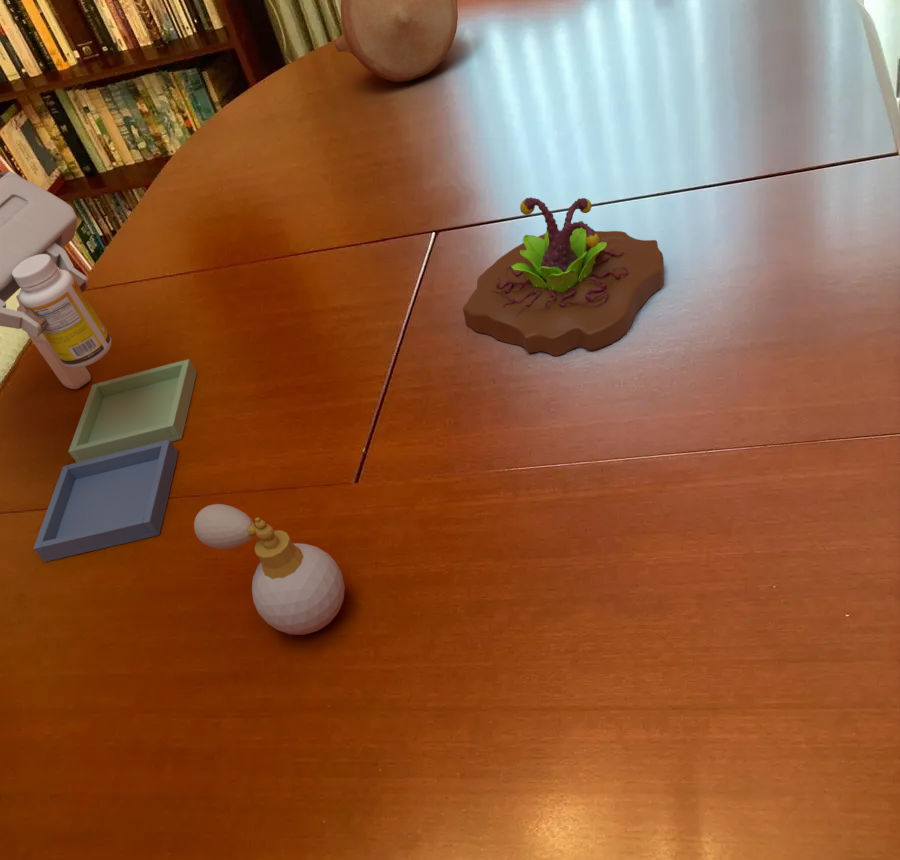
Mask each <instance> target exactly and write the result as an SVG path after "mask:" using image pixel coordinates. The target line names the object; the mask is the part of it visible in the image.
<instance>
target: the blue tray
mask: <svg viewBox="0 0 900 860" xmlns="http://www.w3.org/2000/svg"><path fill="white" fill-rule="evenodd" d="M178 456H179V452H178V451H177V449H176V448H175V446H174V445H173V443H172V442H171V441H170V440H166V441H162V442H158V443H154V444H150V445H146V446H142V447H138V448H134V449H130V450H126V451H122V452H118V453H114V454H110V455H106V456H102V457H98V458H94V459H90V460H86V461H82V462H78V463H76V462H74V463H70V464H66V465H63V466H62V468H61V471H60V474H59V477H58V479H57V482H56V485H55V488H54V491H53V493H52V495H51V498H50V502H49V504H48V507H47V509H46V512H45V515H44V518H43V522H42V523H41V526H40V529H39V532H38V535H37V538H36V540H35V543H34V546H33V550H34V551H35V553H36V554H37V555H38V556H39V557H40V558H41V559H42V561H43V562H44V563H47V562H51V561H55V560H59V559H64V558H68V557H72V556H76V555H80V554H85V553H90V552H94V551H97V550H102V549H107V548H110V547H115V546H118V545H124V544H128V543H132V542H137V541H140V540H145V539H149V538H153V537H158V536H160V535H161V530H162V525H163V521H164V517H165V513H166V509H167V504H168V500H169V495H170V490H171V486H172V482H173V477H174V474H175V469H176V465H177V461H178Z"/></svg>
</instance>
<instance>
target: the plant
mask: <svg viewBox="0 0 900 860" xmlns="http://www.w3.org/2000/svg"><path fill="white" fill-rule="evenodd" d="M536 207H538V209H539V211H541V214H542V216H543V217H544V222H545V224H546V231H545V233H543V234H540V235H538V236H537V235H531V234H525V235H523V237H522V243H520V244H519V245H517V246H515V247H514V248H512V249H511V250H509V251H508V252H507V253H505V254H504V255H502V256H501V257H499V258H498V259H497V260H496V261H495V262H494V263H492V265H491V266H489V267H488V268H487V269H486V270H485V271H484V272H483V273H482V274H481V275H479V276H478V278H477V281H476V288H475V290H474V291H473V292H472V294H471V296H470V297H469V298H468V300H467V302H466V303H465V304H464V306H463V307H462V311H463V316H464V320H465V324H466V326H467V327H470V328H471V329H472V330H473V331H474V332H476V333H480V334H484V335H488V336H491V337H493V338H494V339H496V340H498V341H501V342H502V343H506V344H511V345H515V346H516V345H517V346H521V347H522V348H524V349H525V350H526V352H527V353H528V354H532V353H537V352H543V353H547V354H549V355H551V356H555V357H556V356H558V357H559V356H561V355H564V354H566V353H568V352H570V351H571V350H573V349H576V348H581V347H582V348H585V349H586V350H588V351H595V350H598V349H601V348H604V347H606V346H608V345H611V344H613V343H615V342H617V341H618V340H620V339H621V338H622V337H623V336H625V335H626V334H627V332H628V331H629V329H630V327H631V325H632V324H633V321H634V320H635V317H636V315H637V313H638V312H639V311H640V309H641V308H642V307H643V306H644V304H645V303H646V302H647V301H648V300H649V298H650V297H651V296H653V294H654V293H656V292H657V291H658V290H660V289H662V287H663V286H664V283H665V278H664V274H665V263H664V255H663V252H662V250H660V248H659V245H658V243H659V242H658V240H656V239H646V240H645V239H638V238H634V237H632V236H631V235H629V234H628V233H627V232H625V231H621V230H607V231H606V230H603V231H602V230H594V228H591V226H588V223H585V222H584V221H582V220H579V221H577V222H575V221H574V222H572V221H573V217H574V214H575V211H576V210H577V208H578V209H579V211H580V212H581V213H582V214H588V213H590V212H591V210H592V202H591V200H590V199H588V198H585V197H582V198H577V200H575V201H574V202H573V203H572V204H571V206H569V207H568V211H567V212H566V213H565V215H566V216H565V218H564V222H563V227H562V229H560V230H559V227H558V224H557V220H556V219H555V218H554V214H553V213H552V212H551V211H550V210H549V207H548V206H546V203H545V202H543V201H542V200H540V199H539V198H536V197H526V198H525V199H523V200H522V201H521V202H520V205H519V210H520V212H521V213H522V214H523V215H524V216H529V215H531V214H532V213H533V212H534V211H535V208H536Z"/></svg>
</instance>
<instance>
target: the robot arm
mask: <svg viewBox="0 0 900 860" xmlns="http://www.w3.org/2000/svg"><path fill="white" fill-rule="evenodd" d="M77 224H78V217H77V214H76V211H75V209H74V207H73V206H71V205H70V204H69V203H67V201H64V200H63V199H61V198H59V197H58V196H56V195H54V194H53V193H51V192H50V191H49V190H46V189H44V188H43V187H40V186H39V185H37V184H35V183H33V182H32V181H29V180H27V179H25V178H23V177H22V176H21V175H19V174H17V173H16V172H13V171H0V327H4V328H11V329H17V330H22V331H23V332H25V333H28V334H30V335H31V336H33V337H35V338H37V337H38V336H39V335H40V334H41V333H42V332H43V331H44V330H45V329H46V328H47V326H46V325H47V320H46V319H45V318H44V317H43V316H41V315H38V313H37V312H35V311H34V310H32V309H30V310H29V311H28V312H27V313H24V312H20V311H17V309H11V308H8V307H7V301H8V300H9V299H10V298H11V297H12V296H13V295H15V294H16V292H18V291H20V290H21V288H20V286H18V284H17V282H16V280H15V279H14V277H13V275H12V271H13V269H14V268H15V267H16V266H18V265H19V264H20V263H21V262H22V261H24V260H26V259H28V258H30V257H32V256H35V255H39V254H47V255H49V256H50V257H51V259H52V260H53V262H54V263H55V264H56V265H57V268H58V269H62V270H66V271H68V272H69V273H70V274H71V275H72V276H73V278H74V279H75V281H76V283H77V284H78V286H79V288H80V289H81V291H82V292H83V293H84V292H85V291H86V290H87V289H88V288H89V283H90V279H89V278H88V277H87V276H86V275H85V274H83V272H81V271H80V270H78V269H76V268H75V266H74V264H73V262H72V260H71V258H70V257H69V254H68V253H67V251H66V250H65V247H66V246H67V245H68V244H69V243H70V242H72V241H73V239H74V238H75V236H76V231H77ZM28 334H27V335H28Z"/></svg>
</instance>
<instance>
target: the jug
mask: <svg viewBox="0 0 900 860" xmlns="http://www.w3.org/2000/svg"><path fill="white" fill-rule="evenodd" d="M458 20H459V12H458V0H340V21H341V27H342V34H341V35H340V37H338V39H336V40H334V41H335V42H334V46H335V49H336V50H337V51H338V52H339V53H340V52H341V53H342V52H346V53H349V54H351V55H353V57H354V58H355V59H356V60H357V61H358V62H359V63H360V64H361V65H362V66H363V67H364V68H366V69H367V70H368V71H369V72H370V73H372V74H374V75H376V76H378V77H379V78H381V79H385V80H387V81H391V82H394V83H395V82H396V83H398V82H399V83H400V82H408V81H414V80H416V79H418V78H421V77H424V76H426V75H429V74H430V73H431V72H432V71H433V70H435V69H436V68H437V67H438V66H439V65H440V64H442V62H443V61H444V59H445V58H446V56H447V54H448V52H449V50H450V49H451V47H452V45H453V42H454V40H455V37H456V34H457V28H458Z"/></svg>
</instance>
